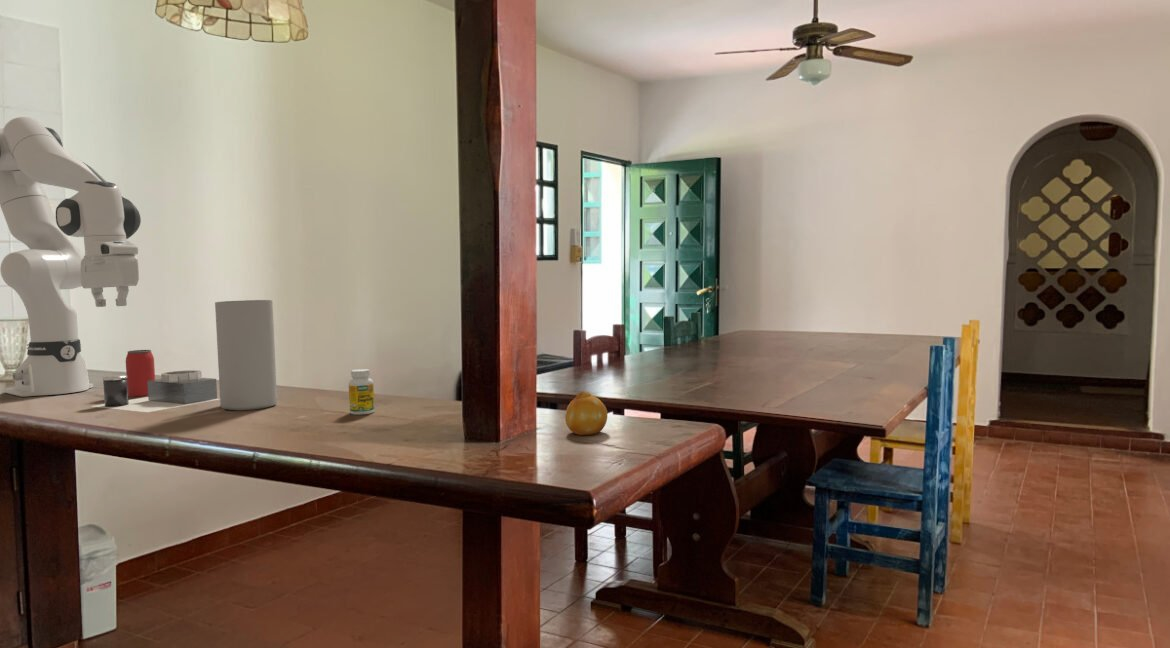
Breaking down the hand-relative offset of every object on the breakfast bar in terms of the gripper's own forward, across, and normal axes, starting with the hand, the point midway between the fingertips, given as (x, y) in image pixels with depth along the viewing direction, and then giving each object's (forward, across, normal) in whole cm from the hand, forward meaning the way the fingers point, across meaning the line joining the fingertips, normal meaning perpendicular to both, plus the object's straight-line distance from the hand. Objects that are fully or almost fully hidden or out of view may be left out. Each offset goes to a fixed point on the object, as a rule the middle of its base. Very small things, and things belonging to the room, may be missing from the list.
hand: (111, 306), depth 200 cm
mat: (+24, +5, +6) cm, 26 cm away
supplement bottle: (+26, +61, +21) cm, 70 cm away
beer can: (+24, -11, +12) cm, 29 cm away
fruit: (+28, +118, +26) cm, 124 cm away
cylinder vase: (+25, +30, +15) cm, 42 cm away
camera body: (+24, +7, +12) cm, 28 cm away
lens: (+24, 0, -1) cm, 24 cm away
